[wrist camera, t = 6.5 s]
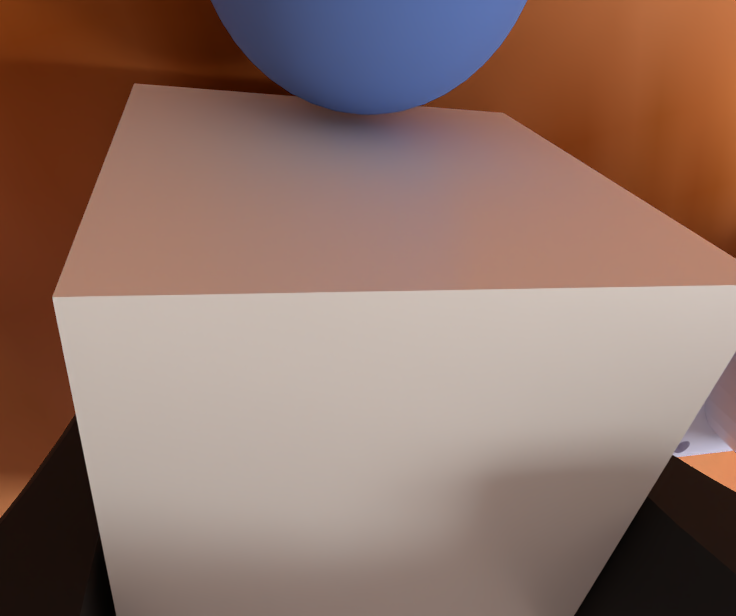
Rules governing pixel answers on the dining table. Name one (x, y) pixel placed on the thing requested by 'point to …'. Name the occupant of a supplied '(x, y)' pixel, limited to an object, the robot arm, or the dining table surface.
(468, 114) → the cream rectangular prism
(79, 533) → the robot arm
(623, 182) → the dining table surface
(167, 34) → the dining table surface
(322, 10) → the ball
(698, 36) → the dining table surface
